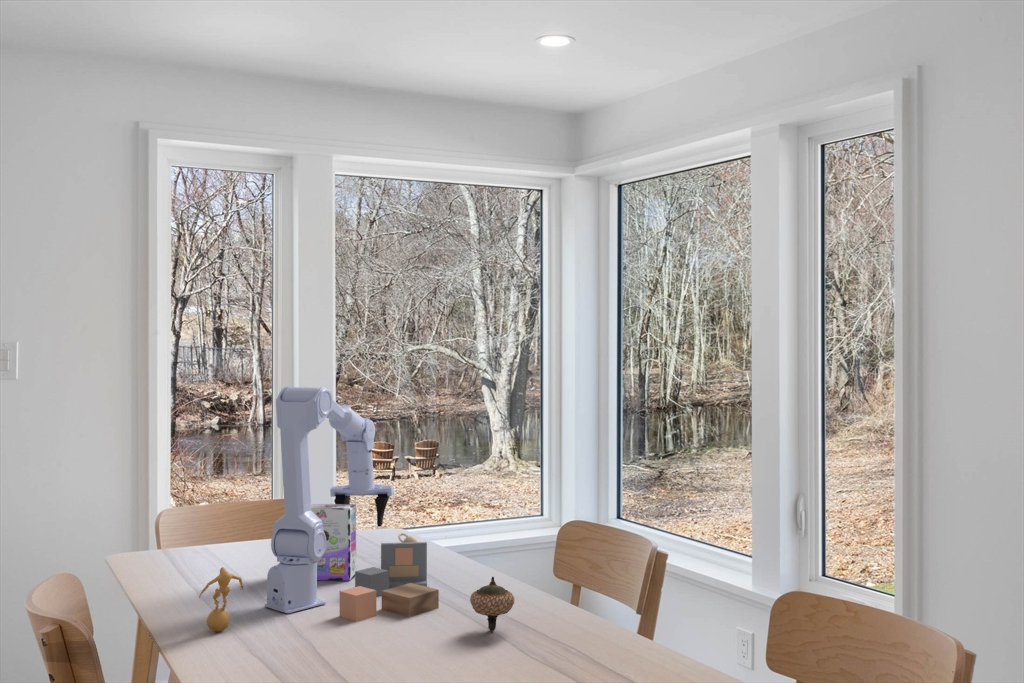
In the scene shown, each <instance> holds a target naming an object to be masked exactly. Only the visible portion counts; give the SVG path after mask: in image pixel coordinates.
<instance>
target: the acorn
mask: <svg viewBox="0 0 1024 683" xmlns="http://www.w3.org/2000/svg"><path fill="white" fill-rule="evenodd" d="M469 598H470V600H469V601H470V604H471V607H472V609H473V610H474V612H475V613H476V614H479V615H482V616H485V617H486V616H487V618H486V620H487V626H488V627H487V628H488V630H489V631H490V632H494V631H495V630H496V628H497V618H498V617H499V616H501V615H505V614H508V613H509V612H510V611H511V610H512V608H513V606H514V604H515V596H514V595H513V593H512V592H511V591H509V590H508V589H505V588H504V587H503V586H501V585H498V584H497V583H496V581H495V577H494V576H491V579H490V582H489V584H488V585H485V586H482V587H480V588H479V589H477V590H475V591H473V592H472V593H471V594H470V597H469Z"/></svg>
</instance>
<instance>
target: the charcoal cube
mask: <svg viewBox="0 0 1024 683" xmlns="http://www.w3.org/2000/svg"><path fill="white" fill-rule="evenodd" d="M358 586H362V587H365V588H369V589H373V590H376V598H378V597H382V591H383V590H387V589H390V588H389V571H388V570H384V569H381V567H380V568H379V567H374V566H372V567H368V568H364V569H359V570H356V571H355V576H354V587H358Z"/></svg>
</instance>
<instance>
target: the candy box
mask: <svg viewBox="0 0 1024 683" xmlns="http://www.w3.org/2000/svg"><path fill="white" fill-rule="evenodd" d="M311 511H312V512H313V513H314V514H315V515H316V516H317V517H318V518H320V519H321V520H322V523H323V530H324V533H325V536H326V549H325V552H324V554H323V555H322V557H321V558H320V560H317V581H351V580H352V579H353V578H355V571H357V505H356V503H355V504H351V503H350V504H335V503H334V504H333V503H311Z"/></svg>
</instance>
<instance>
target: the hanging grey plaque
mask: <svg viewBox="0 0 1024 683" xmlns="http://www.w3.org/2000/svg"><path fill="white" fill-rule="evenodd" d="M427 557H428V542H427V541H418V542H407V543H402V542H381V543H380V569H384V570H388V571H389V589H390V588H394V587H398V586H401V585H405V584H408V583H414V584H418V585H422V586H426V587H428V582H427V581H428V579H427V578H428V571H427V569H428V565H427V564H428V563H427V560H428V559H427Z"/></svg>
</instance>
